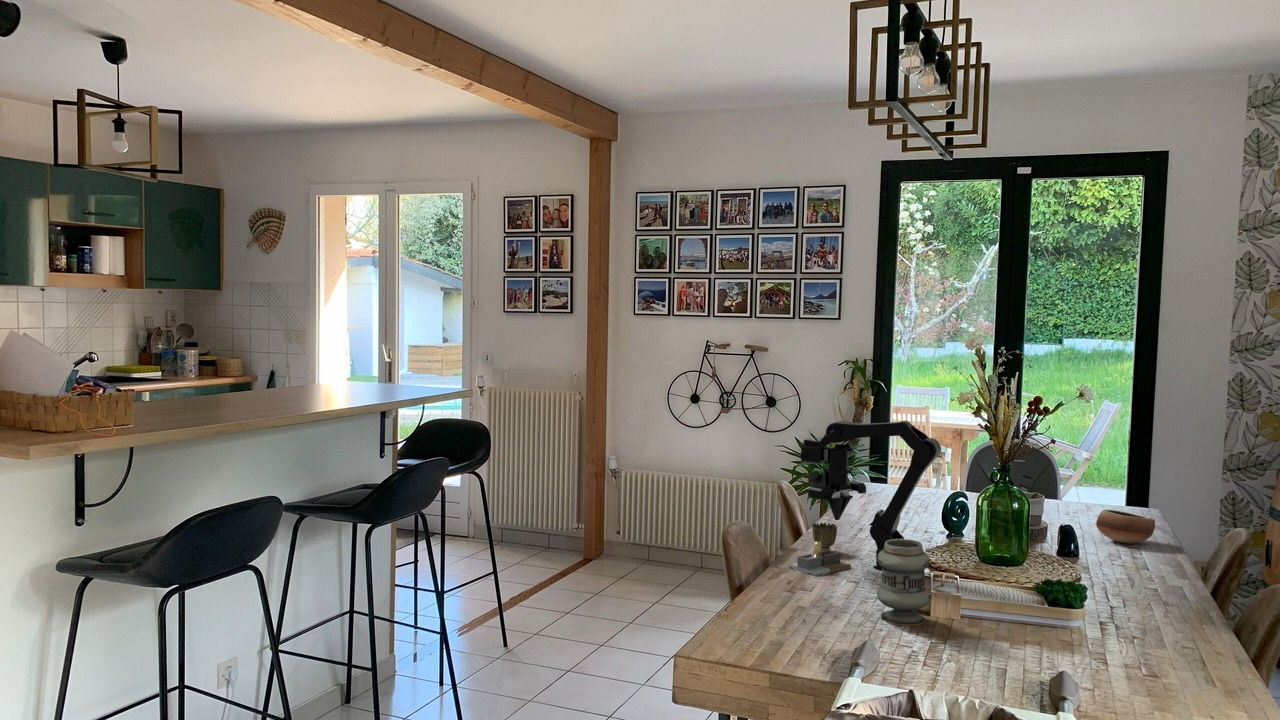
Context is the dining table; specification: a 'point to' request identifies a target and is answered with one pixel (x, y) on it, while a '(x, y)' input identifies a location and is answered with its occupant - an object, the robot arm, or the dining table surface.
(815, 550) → the bolt
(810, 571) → the jamb keeper
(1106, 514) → the bowl
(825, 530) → the cup
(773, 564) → the dining table surface
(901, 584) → the apothecary jar
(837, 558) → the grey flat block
